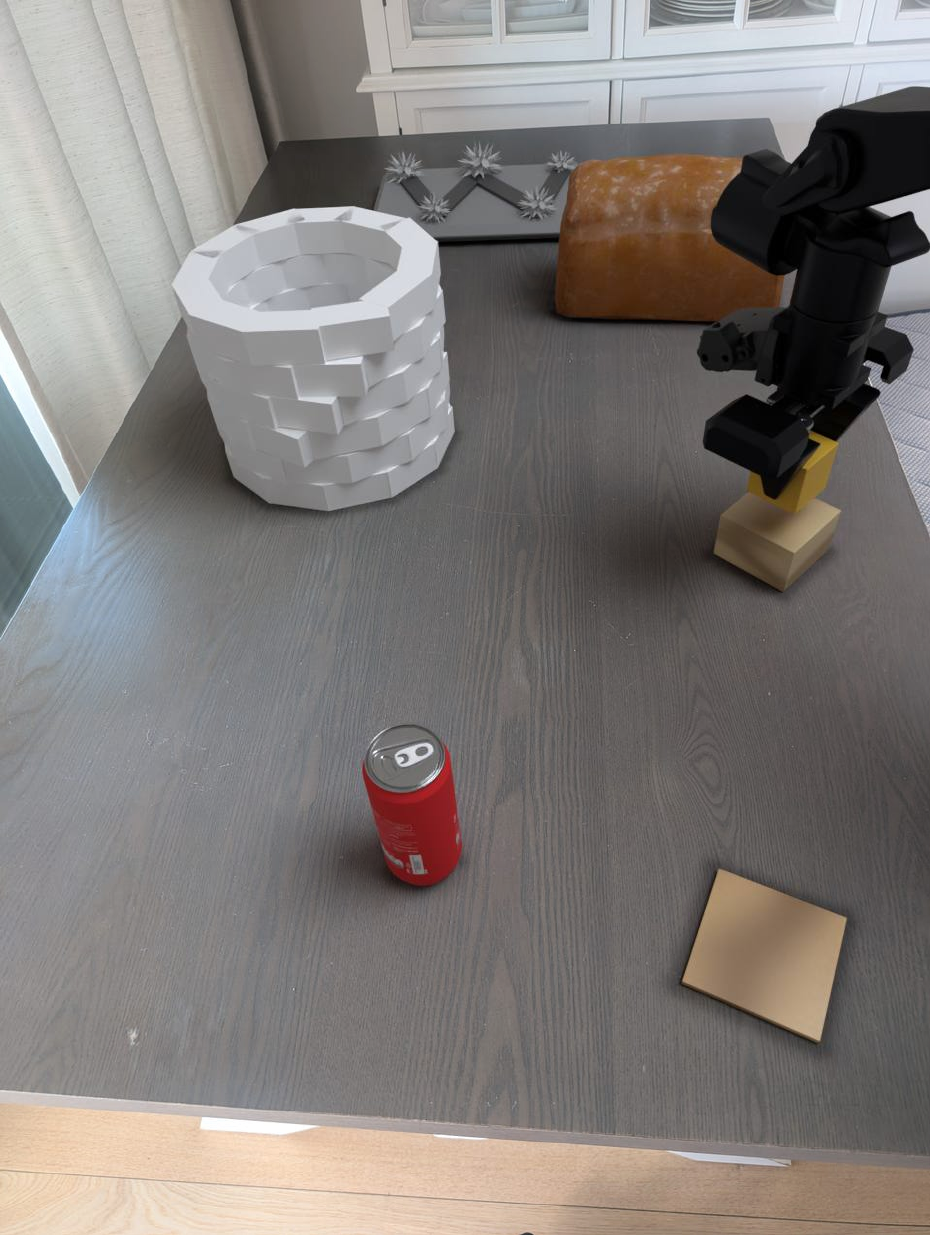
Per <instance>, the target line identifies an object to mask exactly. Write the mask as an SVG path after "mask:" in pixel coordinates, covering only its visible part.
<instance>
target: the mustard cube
mask: <svg viewBox="0 0 930 1235" xmlns="http://www.w3.org/2000/svg"><path fill="white" fill-rule="evenodd" d="M809 438H810V439H812V440H814V441H816V442H819V443H820V446H819V448H818V449H817V450H816V451H815V453H814V454H813V455H812V456H811V458H810V459H809V460H808V461H807V463H806V464H805V465H804V466H803V468H802V469H801V470H800V471H799V473H798V474H797V475H796V476H795V478H794V479H793V480H792V482H791V483H790V484H789V485H788V487H787V488H786V489H785V490H784V491H783V493H782V494H781V495H780V496H779V497H778V498H777V499H776V500H774V499H772V498H770V497H768V496H766V495H765V494H764V491H763V487H762V482H761V477H760V475H757V474H755V473H753V472H751V471H749V476H748V482H747V486H746V492H747V493H748V492H750V493H752V494H754V495H756V496H758V497H760V498H762V499H764V500H766V501H768V502H770V503H772V504H774V505H776V506H778V507H780V508H782V509H784V510H786V511H788V512H790V513H792V514H796V513H797V512H798V511H799V510H801V509H802V508H803V507H804V506H805V505H806V504H807V503H809V502H810V501H811V500H812V499H813V498H816V497H817V496H818V495H820V493H822V492H823V491H824V490H825V489H826V488H827V484H828V480H829V477H830V474H831V470H832V468H833V464H834V461H835V457H836V454H837V451H838V447H839V444H840V443H839V442H838V441H837V442H835V441H833V440H831V439H829V438H826V437H824V436H822V435H820V434H817V433H815V432H813V431H811V430H809Z"/></svg>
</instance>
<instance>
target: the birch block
mask: <svg viewBox="0 0 930 1235" xmlns="http://www.w3.org/2000/svg"><path fill="white" fill-rule="evenodd" d="M841 513H842V510H841V509H839V508H837V507H835V506H832V505H831V504H829V503H826V502H825V501H822V500H820V499H818V498H816V497H814V498H813V499H812V500H811V501H810V502H809V503H807V504H806V505H805V506H804V507H803V508H802V509H801V510H799V511H798V512H797V513H796V514H792V513H790V512H788V511H786V510H784V509H782V508H780V507H778V506H776V505H774V504H772V503H770V502H768V501H766V500H764V499H762V498H760V497H758V496H756V495H754V494H752V493H750V492H748V491H747V492H746V494H744V495H743V496H742V497H741V498H739V499H738V500H737V501H735V503H733V504H732V505H731V506H729V507H728V508H727V509H726V510H725V511H723V512H722V513H721V514H720V518H719V523H718V528H717V534H716V538H715V544H714V549H713V554H714V555H716V556H717V557H719V558H721V559H723V560H725V561H726V562H728V563H730V564H732V565H734V566H736V567H737V568H739V569H741V570H742V571H744V572H746V573H748V574H750V575H752V576H754V577H755V578H757V579H758V580H761V581H762V582H764V583H766V584H768V585H770V586H771V587H773V588H775V589H776V590H778V591H781V592H782V593H784V592H785V591H786V590H787V589H788V588H789V587H791V586H792V585H793V584H794V583H795V582H796V581H797V580H798V579H799V578H801V576H803V575H804V573H806V572H807V571H808V570H809V569H810V568H811V567H812V566H813V565H815V563H816V562H818V561H819V559H821V558H822V557H823V556H824V555H826V553H827V552H828V551H829V550H830V547H831V543H832V541H833V537H834V535H835V532H836V528H837V525H838V523H839V519H840V516H841Z"/></svg>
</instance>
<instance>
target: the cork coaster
mask: <svg viewBox="0 0 930 1235" xmlns="http://www.w3.org/2000/svg"><path fill="white" fill-rule="evenodd" d="M847 920H848V918H847V917H846V916H843V915H841V914H838V913H836V912H833V911H831V910H828V909H826V908H823V907H820V906H817V905H816V904H813V903H810V902H807V901H805V900H802V899H800V898H797V897H794V896H791V895H790V894H787V893H784V892H781V891H779V890H776V889H774V888H771V887H768V886H766V885H763V884H762V883H761V884H760V883H758V882H755V881H753V880H750V879H748V878H745V877H742V876H740V875H738V874H736V873H732V872H729V871H727V870H724V869H722V868H718V869H717V873H716V876H715V879H714V881H713V885H712V887H711V891H710V894H709V897H708V900H707V902H706V905H705V909H704V912H703V915H702V918H701V922H700V925H699V928H698V930H697V934H696V937H695V940H694V943H693V945H692V949H691V952H690V956H689V958H688V960H687V961H688V962H687V964H686V968H685V970H684V974H683V977H682V980H681V984H682V985H684V986H686V987H689V988H690V989H692V990H695V991H697V992H700V993H702V994H704V995H706V996H709V997H711V998H714V999H716V1000H718V1001H720V1002H723V1003H725V1004H727V1005H729V1006H731V1007H734V1008H735V1009H739V1010H741V1011H743V1012H746V1013H748V1014H750V1015H753V1016H755V1017H757V1018H759V1019H760V1020H761V1019H762V1020H764V1021H765V1022H768V1023H770V1024H773V1025H775V1026H778V1027H780V1028H782V1029H784V1030H786V1031H789V1032H790V1033H793V1034H796V1035H798V1036H800V1037H803V1038H805V1039H807V1040H810V1041H811V1042H814V1043H816V1044H820V1042H821V1040H822V1035H823V1030H824V1025H825V1021H826V1016H827V1012H828V1008H829V1002H830V999H831V993H832V989H833V984H834V980H835V975H836V972H837V966H838V961H839V957H840V953H841V948H842V944H843V940H844V939H843V938H844V934H845V929H846V924H847Z"/></svg>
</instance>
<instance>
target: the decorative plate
mask: <svg viewBox="0 0 930 1235" xmlns="http://www.w3.org/2000/svg"><path fill="white" fill-rule="evenodd" d="M489 144H490V142H488V143H487V145H486V146H485V148H484V150H482V146H481V142H480V140H479V141H478V147H477V143H476V140H474V146H473V150H471V149H470V148H469V147H468V146H467V145H465V147H466V149H464V150H465V151H464V150H461V152H462V153H463V154H464V155H465V156H466V158H462V157H461V158H460V159H461V160H460V159H459V160H458V159H457V161H458V162H459V163H457V165H458V166H460V167H440V168H439V167H438V168H423V167H424V165H422V163H421V160H419V161H417V162H415V161H416V159H415V156H416V154H414V155H413V156H412V153H413V152H410V153H409V155H408V157H407V158H406V156H405V153H404V151H401V153H400V151H399V150H398V160H397V159H396V158H395V157H394V156H393V155H392V154H390V156H391V158H390V159H391V160H389V159H387V161H388V162H389V164H390V165H391V166H387V167H383V169H385V170H387V171H384V172H385V174H384V175H383V177H381V182H380V185H379V189H378V193H377V196H376V200H375V203H374V207H373V210H372V211H376V212H381V213H385V214H390V215H394V216H399V217H403V218H409V217H410V218H411V219H412V220H413V221H414V222H415V223H417V224H418V225H419V226H420V227H421V228H422V229H423V230H425V231H426V232H427V233H428V234H429V235H430V236H431V237H433V238H434V239H435V240H436V241H438V243H446V242H448V243H450V242H476V241H504V240H505V241H506V240H507V241H508V240H535V239H559V237H560V224H561V220H562V215H563V212H564V209H565V205H566V202H567V191H568V183H569V175H570V172H572V171H573V170H574V169H575V168H576V167H577V166H578V165H579V164H580V163H578V162H577V161H575V160H574V159H575V156H573V157H572V158H570V154H571V152H569V150H568V151H567V150H566V151H565V153H564V155H563V151H562V149H560V150H559V151H557V154H555V155H554V153H551V155H550V156H549V159H550V160H551V161H547V162H546V163H540V164H515V165H514V164H511V165H510V164H509V165H501V164H497V163H498V162H499V161H500V160H502V159H503V157H500V154H499V153H501V150H500V151H497V152H495V153H493V154H492V152H493V150H492V149H493V147H494V145H495V144H494V142H493V143H492V145H491V147H490V148H489ZM568 152H569V153H568ZM401 155H402V156H401Z"/></svg>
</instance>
